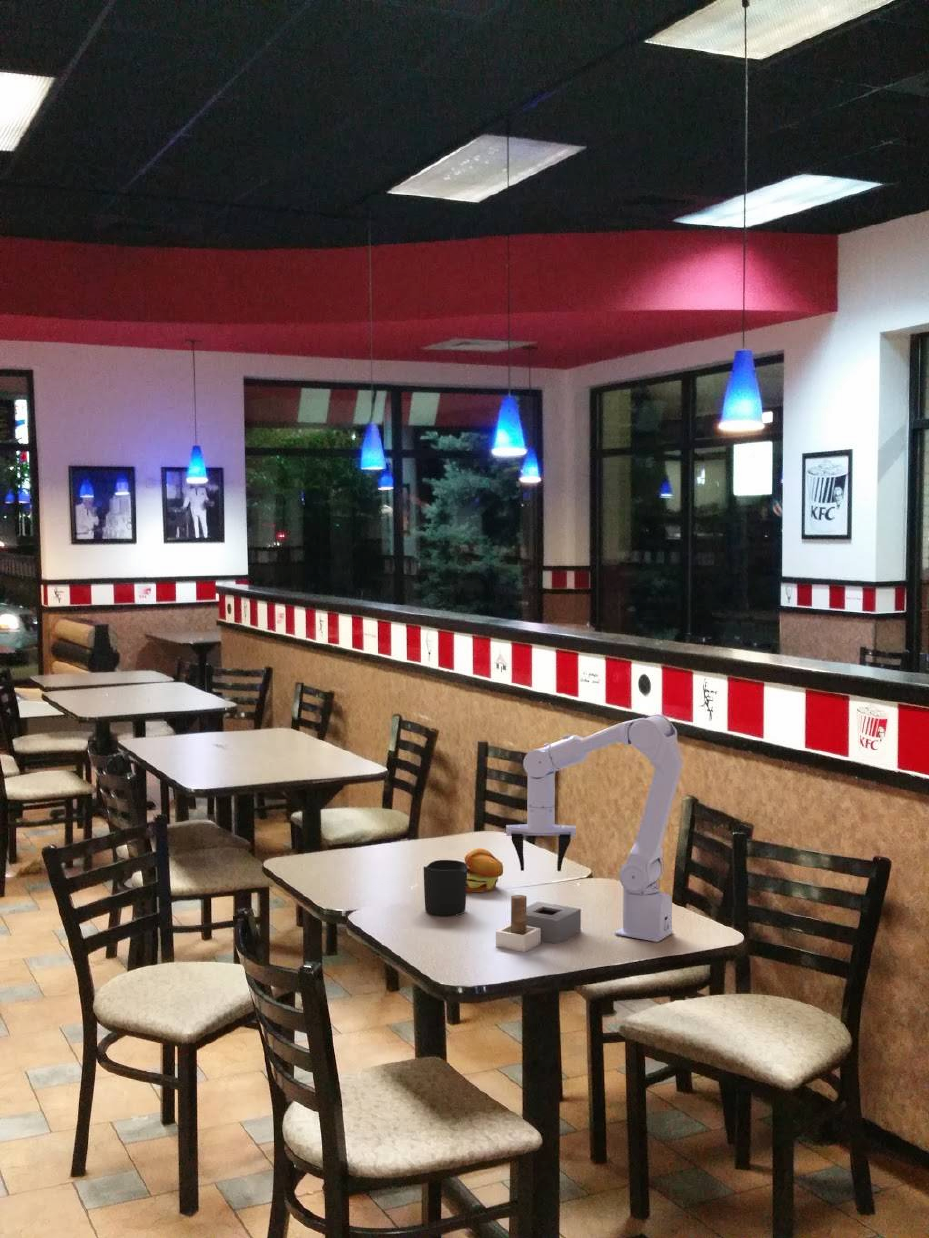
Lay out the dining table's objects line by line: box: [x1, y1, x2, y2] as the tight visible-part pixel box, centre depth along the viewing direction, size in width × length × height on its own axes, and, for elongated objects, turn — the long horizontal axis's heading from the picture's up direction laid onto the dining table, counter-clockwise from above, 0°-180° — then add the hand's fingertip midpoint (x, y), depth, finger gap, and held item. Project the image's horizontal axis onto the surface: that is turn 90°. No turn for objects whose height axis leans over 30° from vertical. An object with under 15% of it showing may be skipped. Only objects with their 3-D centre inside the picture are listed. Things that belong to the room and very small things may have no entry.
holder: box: [495, 923, 542, 953], centre depth 239 cm, size 6×6×3 cm
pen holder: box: [423, 859, 467, 917], centre depth 263 cm, size 9×9×10 cm
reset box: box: [526, 901, 582, 944], centre depth 247 cm, size 10×10×4 cm
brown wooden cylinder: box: [510, 894, 528, 935], centre depth 239 cm, size 3×3×9 cm
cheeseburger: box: [464, 848, 504, 893], centre depth 281 cm, size 10×11×10 cm
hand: (540, 869), depth 257 cm, fingers open, 7 cm apart
